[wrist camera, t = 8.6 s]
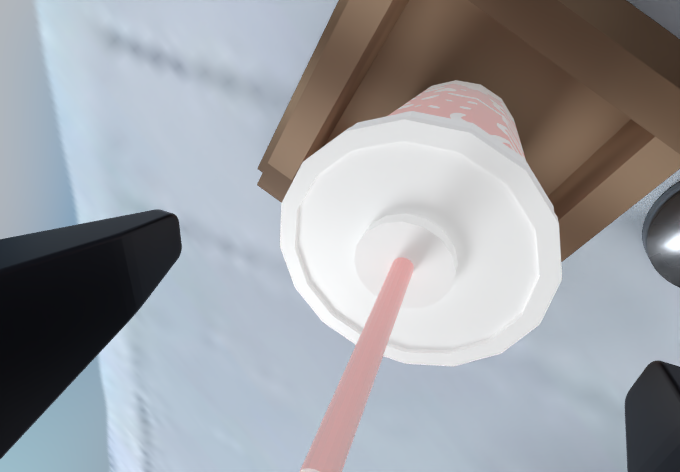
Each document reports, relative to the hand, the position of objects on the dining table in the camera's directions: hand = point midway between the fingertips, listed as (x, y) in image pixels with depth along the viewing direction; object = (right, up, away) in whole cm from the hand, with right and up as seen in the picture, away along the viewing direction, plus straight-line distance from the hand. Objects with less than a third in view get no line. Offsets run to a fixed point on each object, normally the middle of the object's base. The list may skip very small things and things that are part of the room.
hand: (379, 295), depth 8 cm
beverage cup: (+4, +5, +9) cm, 11 cm away
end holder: (+4, +5, +9) cm, 12 cm away
